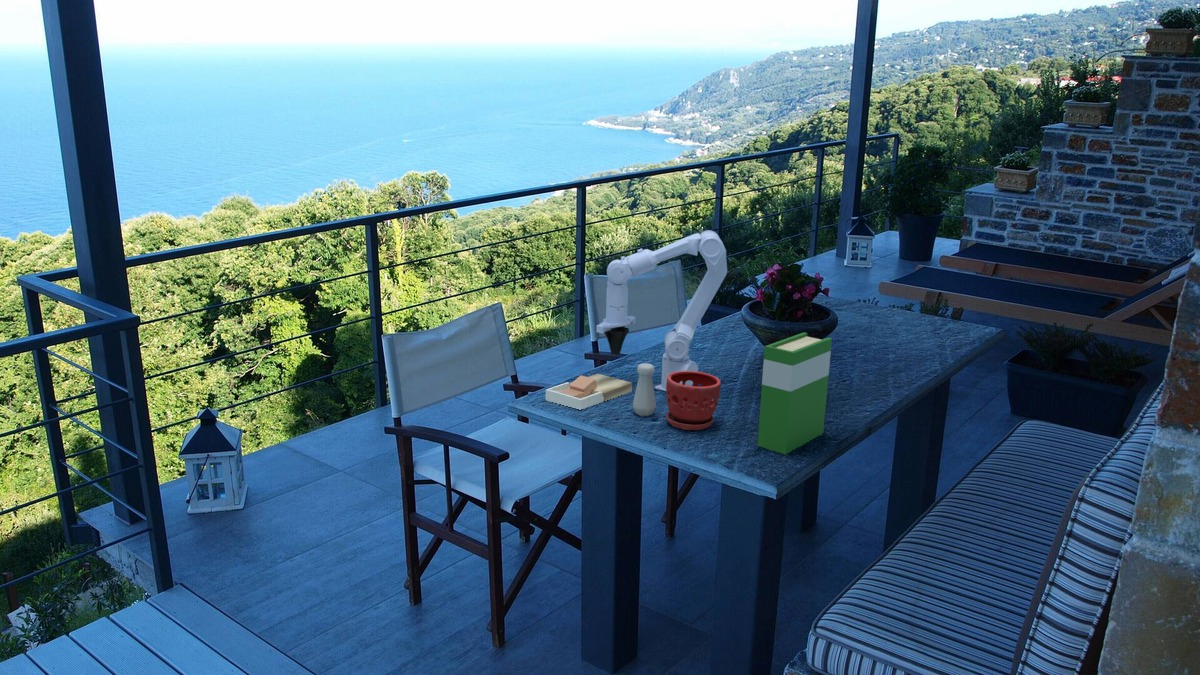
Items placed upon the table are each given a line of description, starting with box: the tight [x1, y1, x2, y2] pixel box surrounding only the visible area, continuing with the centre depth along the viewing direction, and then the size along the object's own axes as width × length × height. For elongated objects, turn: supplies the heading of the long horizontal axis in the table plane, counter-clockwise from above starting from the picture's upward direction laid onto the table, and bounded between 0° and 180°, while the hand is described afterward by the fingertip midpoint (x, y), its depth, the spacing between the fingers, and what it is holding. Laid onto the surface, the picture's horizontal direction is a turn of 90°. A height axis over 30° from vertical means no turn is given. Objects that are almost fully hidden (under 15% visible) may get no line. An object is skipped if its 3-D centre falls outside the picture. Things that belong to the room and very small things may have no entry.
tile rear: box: [569, 375, 597, 397], centre depth 246 cm, size 5×5×2 cm
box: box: [545, 382, 604, 410], centre depth 244 cm, size 12×9×3 cm
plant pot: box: [665, 371, 722, 431], centre depth 229 cm, size 13×13×12 cm
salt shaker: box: [632, 362, 657, 417], centre depth 235 cm, size 6×6×13 cm
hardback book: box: [757, 332, 833, 455], centre depth 219 cm, size 18×7×24 cm, turn 139°
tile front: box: [559, 388, 585, 399], centre depth 243 cm, size 5×5×2 cm
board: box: [568, 373, 633, 402], centre depth 252 cm, size 12×12×2 cm
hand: (615, 353), depth 255 cm, fingers closed
